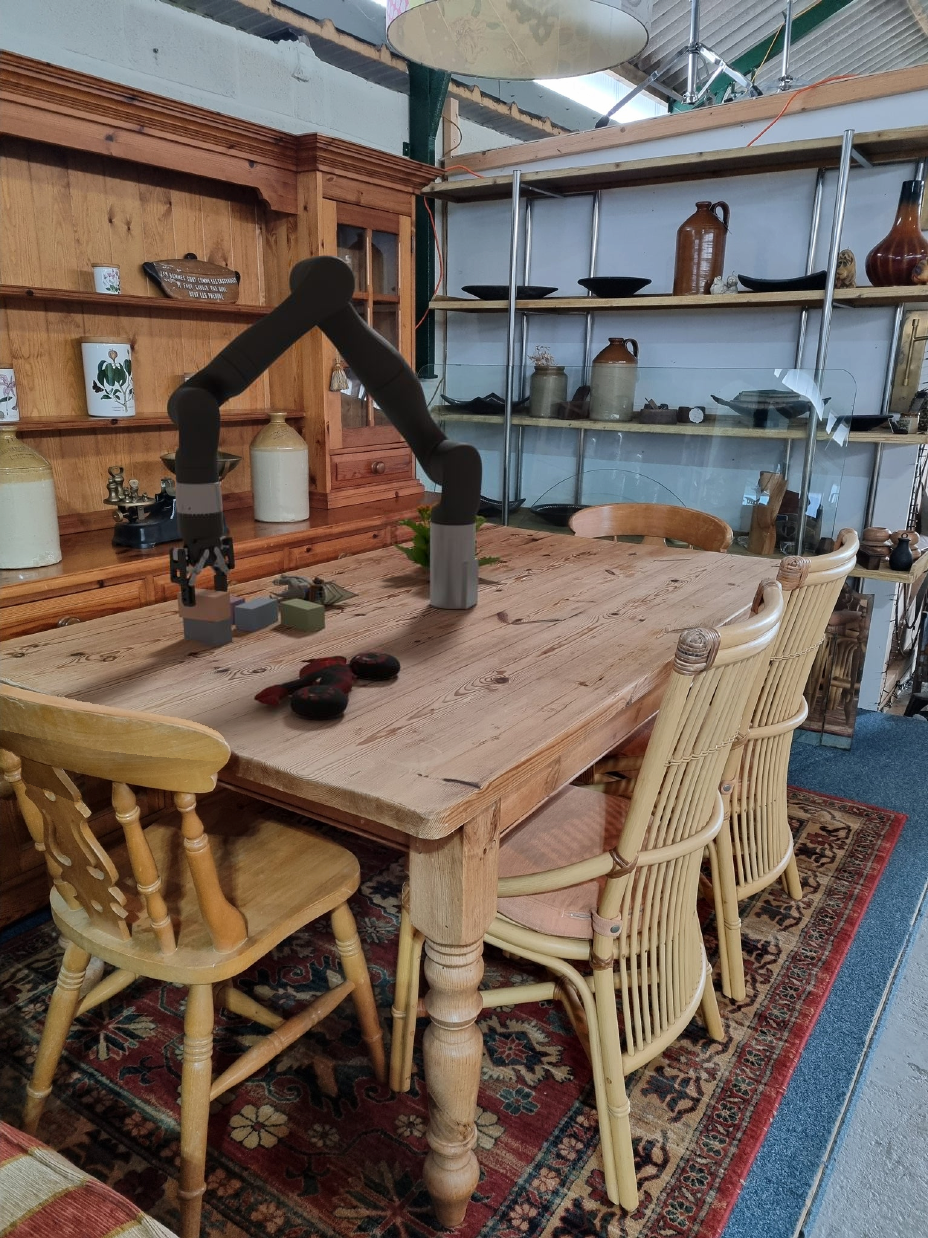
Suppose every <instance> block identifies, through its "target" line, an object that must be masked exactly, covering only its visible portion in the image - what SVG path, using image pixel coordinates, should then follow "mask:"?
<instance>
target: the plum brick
mask: <svg viewBox="0 0 928 1238" xmlns="http://www.w3.org/2000/svg"><path fill="white" fill-rule="evenodd" d="M243 603H246V598H245V597H239V596H234V595H230V609H231V617H229V618H231V625H235V610H234V607H235V606H238V605H240V604H243Z"/></svg>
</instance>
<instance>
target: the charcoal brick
mask: <svg viewBox="0 0 928 1238" xmlns="http://www.w3.org/2000/svg"><path fill="white" fill-rule="evenodd" d="M182 623H183V624H182V625H183V635H184V636H183V637H184V640H187V641H192V642H196V643H199V644H202V645H206V646H210V647H213V648H215V647H219V646H222V645H226V644H228V643H232V642H233V630H232V628H233V627H232V624H231V618H226V619H224V620H221V621H219V622H211V621H204V620H197V619H189V618H182Z"/></svg>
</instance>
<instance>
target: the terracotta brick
mask: <svg viewBox="0 0 928 1238" xmlns="http://www.w3.org/2000/svg"><path fill="white" fill-rule="evenodd" d="M176 594H177V609H178V618H182V619H183V618H189V619H197V620H204V621H211V622H219V621H221V620H224V619H226V618H229V617H231V609H230V596H231V595H230V592H228V591H227V592H222V591H215V589H204V588H197V587H195V598H196V605H195V606H193V607H187V606H184V605H183V603H182V597H181V591H178V592H176Z"/></svg>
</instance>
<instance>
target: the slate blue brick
mask: <svg viewBox="0 0 928 1238" xmlns="http://www.w3.org/2000/svg"><path fill="white" fill-rule="evenodd" d="M278 599H279V598H278ZM278 599H274V598H273V599H271V598H268V597H262V596H259V597H257V598H254V599H251V600H249V601H245V603H243V604H240V605H238V606H235V607H234V610H235V624H234V625H235V626H234V627H235V629H236V630H241V631H242V630H243V631H249V632H252V633H253V632H255V631H258V630H260V629H262V628H266V627H268V626H270V625H272V624H274V623H278V622H279V604H278Z"/></svg>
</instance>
